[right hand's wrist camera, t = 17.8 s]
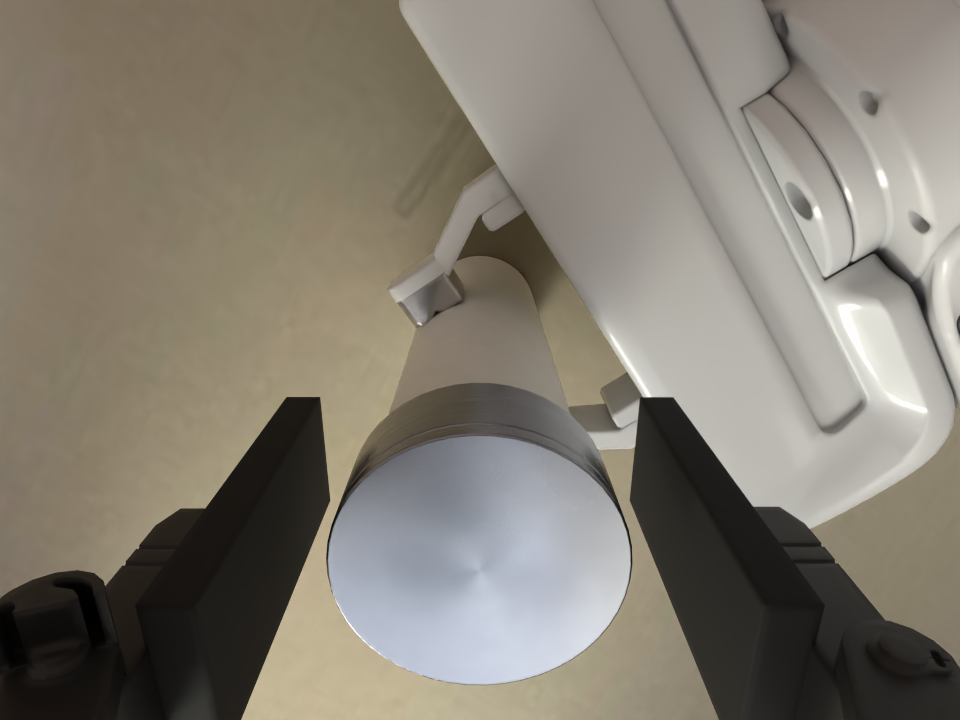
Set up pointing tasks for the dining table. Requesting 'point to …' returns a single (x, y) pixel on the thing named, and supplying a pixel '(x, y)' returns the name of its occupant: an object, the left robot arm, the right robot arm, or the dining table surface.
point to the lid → (479, 537)
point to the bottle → (483, 338)
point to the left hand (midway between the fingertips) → (457, 379)
